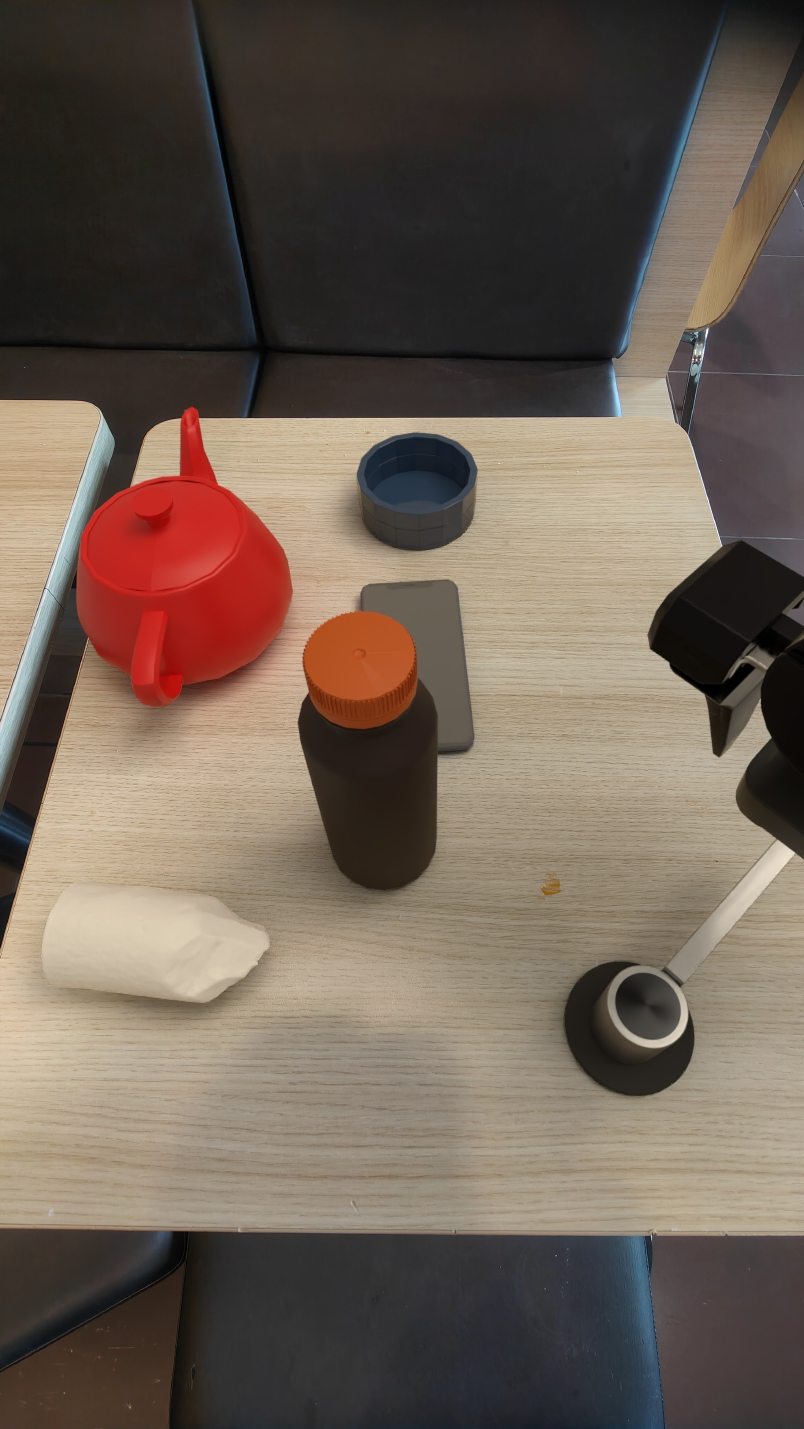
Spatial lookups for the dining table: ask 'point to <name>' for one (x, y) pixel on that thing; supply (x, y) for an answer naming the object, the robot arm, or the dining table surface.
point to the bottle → (371, 748)
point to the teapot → (180, 578)
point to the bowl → (417, 490)
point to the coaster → (602, 1067)
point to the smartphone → (432, 648)
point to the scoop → (673, 976)
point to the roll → (147, 942)
